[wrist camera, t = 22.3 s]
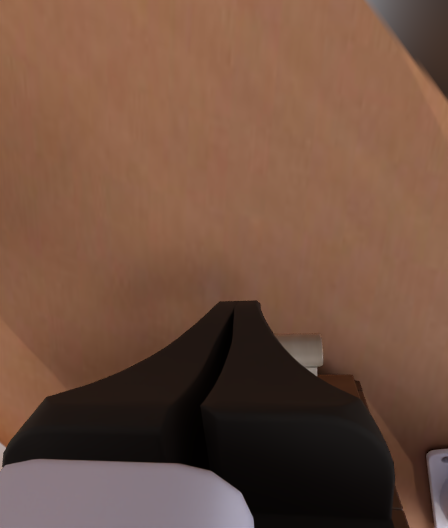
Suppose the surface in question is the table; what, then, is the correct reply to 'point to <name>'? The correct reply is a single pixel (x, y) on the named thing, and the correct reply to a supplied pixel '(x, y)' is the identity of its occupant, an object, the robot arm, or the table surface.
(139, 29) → the table surface
